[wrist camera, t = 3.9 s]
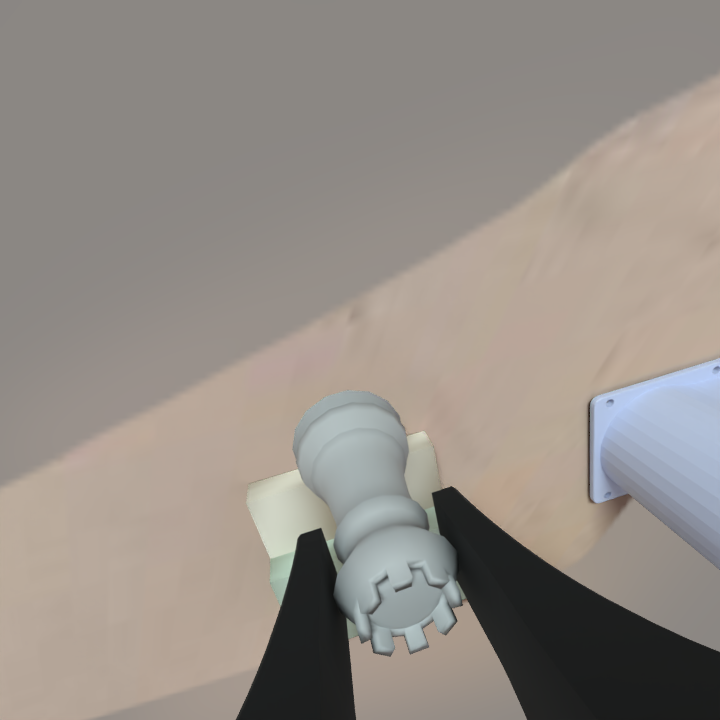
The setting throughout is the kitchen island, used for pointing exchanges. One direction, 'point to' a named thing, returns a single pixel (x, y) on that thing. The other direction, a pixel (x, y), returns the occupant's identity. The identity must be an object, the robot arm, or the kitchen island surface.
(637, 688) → the robot arm
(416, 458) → the stepped riser
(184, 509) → the kitchen island surface
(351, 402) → the rook chess piece
